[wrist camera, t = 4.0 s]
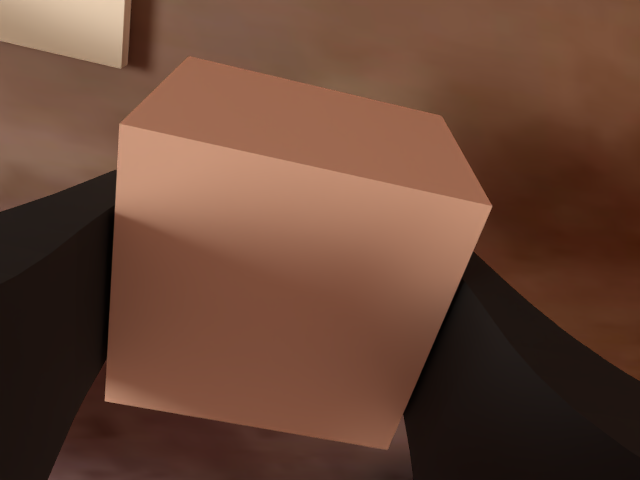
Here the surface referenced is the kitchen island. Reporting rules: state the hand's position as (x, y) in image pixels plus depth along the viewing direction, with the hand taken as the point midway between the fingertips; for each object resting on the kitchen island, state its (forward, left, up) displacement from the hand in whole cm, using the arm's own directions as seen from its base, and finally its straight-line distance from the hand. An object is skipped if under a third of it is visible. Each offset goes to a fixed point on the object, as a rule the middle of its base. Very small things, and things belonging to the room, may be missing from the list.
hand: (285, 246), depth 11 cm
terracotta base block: (0, 0, -2) cm, 2 cm away
